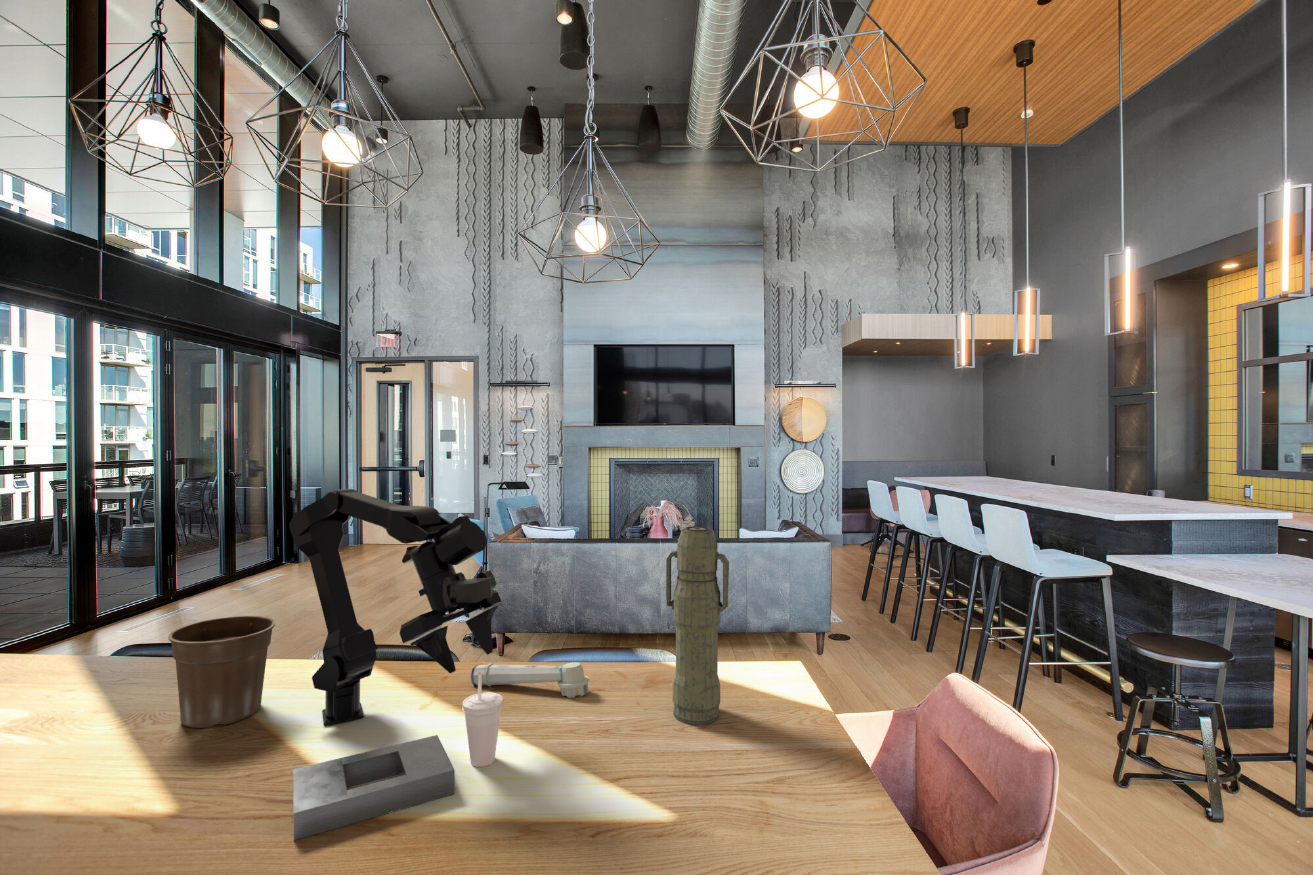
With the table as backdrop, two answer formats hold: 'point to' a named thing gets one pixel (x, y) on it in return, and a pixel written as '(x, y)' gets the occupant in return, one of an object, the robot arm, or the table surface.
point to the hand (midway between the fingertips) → (472, 662)
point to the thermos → (697, 624)
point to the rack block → (333, 806)
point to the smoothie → (482, 725)
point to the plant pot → (221, 668)
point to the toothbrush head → (535, 676)
